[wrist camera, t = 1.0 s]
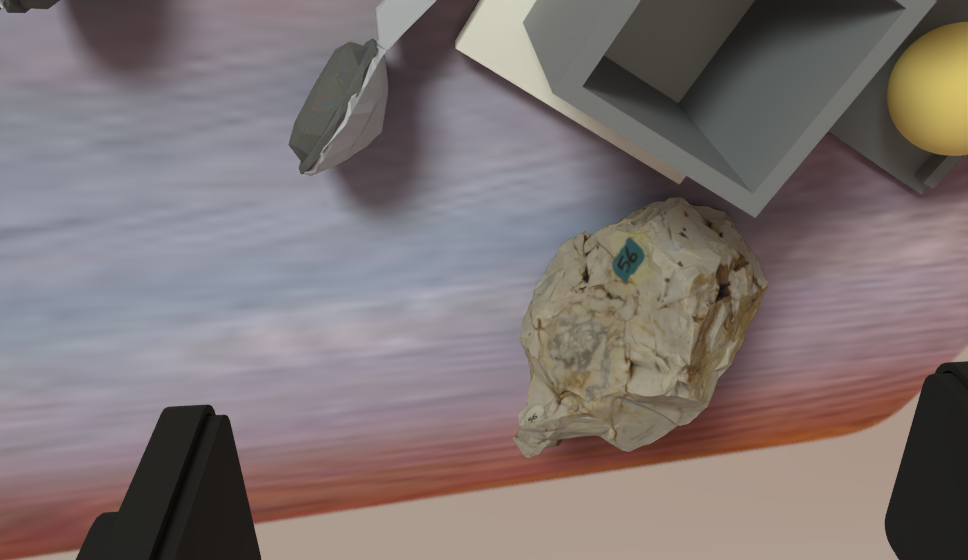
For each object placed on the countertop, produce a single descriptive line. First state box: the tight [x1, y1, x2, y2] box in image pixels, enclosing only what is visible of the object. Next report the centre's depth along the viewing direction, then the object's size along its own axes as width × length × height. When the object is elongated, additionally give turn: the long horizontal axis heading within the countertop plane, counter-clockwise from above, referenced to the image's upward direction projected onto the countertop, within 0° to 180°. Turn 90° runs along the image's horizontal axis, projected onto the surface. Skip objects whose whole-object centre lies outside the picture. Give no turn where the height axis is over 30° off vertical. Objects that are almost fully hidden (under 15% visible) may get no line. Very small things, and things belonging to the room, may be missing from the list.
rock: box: [513, 197, 769, 458], centre depth 36 cm, size 12×7×10 cm, turn 131°
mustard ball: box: [887, 22, 968, 156], centre depth 32 cm, size 5×5×5 cm
